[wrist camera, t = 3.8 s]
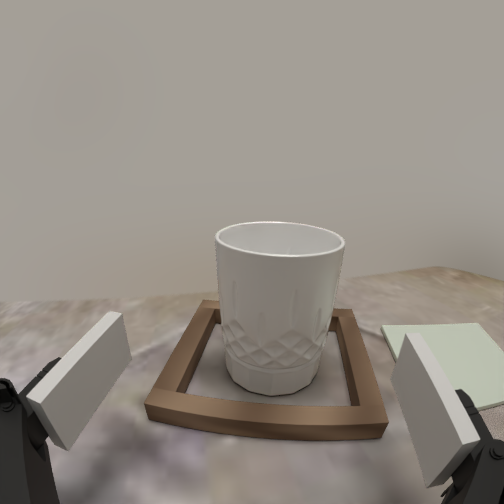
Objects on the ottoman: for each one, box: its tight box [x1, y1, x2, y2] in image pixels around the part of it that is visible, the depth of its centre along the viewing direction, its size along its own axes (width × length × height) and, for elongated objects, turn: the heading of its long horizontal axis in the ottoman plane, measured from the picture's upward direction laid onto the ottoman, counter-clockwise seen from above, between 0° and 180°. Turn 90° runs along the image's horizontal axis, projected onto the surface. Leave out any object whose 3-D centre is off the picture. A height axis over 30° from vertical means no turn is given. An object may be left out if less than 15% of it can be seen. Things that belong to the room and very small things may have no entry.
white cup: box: [215, 222, 345, 396], centre depth 20 cm, size 8×8×10 cm
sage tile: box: [381, 323, 504, 411], centre depth 20 cm, size 12×12×1 cm
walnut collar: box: [144, 300, 389, 440], centre depth 21 cm, size 14×14×2 cm
